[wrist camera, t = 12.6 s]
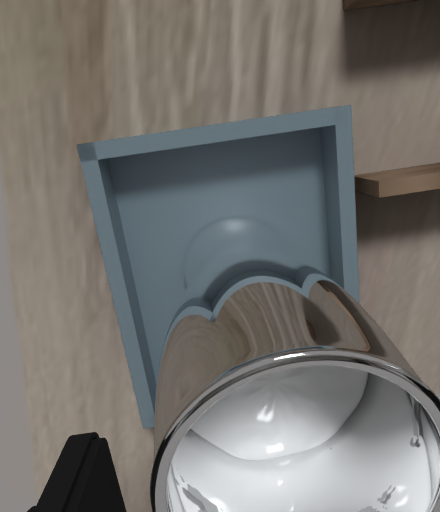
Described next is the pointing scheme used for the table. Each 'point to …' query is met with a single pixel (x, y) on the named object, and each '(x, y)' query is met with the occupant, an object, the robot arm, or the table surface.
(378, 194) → the walnut bay
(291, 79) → the table surface
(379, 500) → the silver metal cup
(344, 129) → the slate tray
